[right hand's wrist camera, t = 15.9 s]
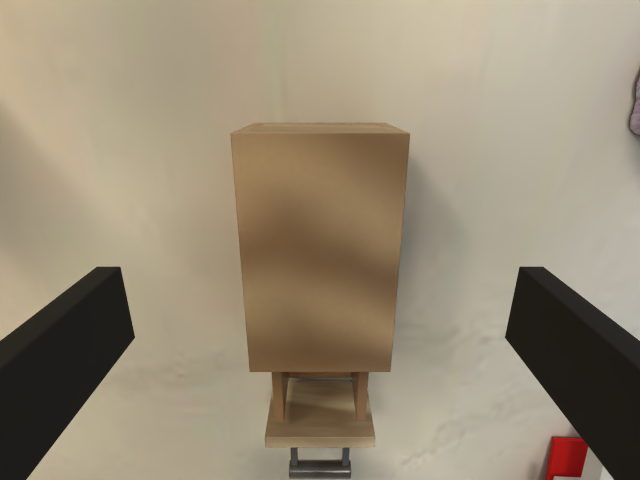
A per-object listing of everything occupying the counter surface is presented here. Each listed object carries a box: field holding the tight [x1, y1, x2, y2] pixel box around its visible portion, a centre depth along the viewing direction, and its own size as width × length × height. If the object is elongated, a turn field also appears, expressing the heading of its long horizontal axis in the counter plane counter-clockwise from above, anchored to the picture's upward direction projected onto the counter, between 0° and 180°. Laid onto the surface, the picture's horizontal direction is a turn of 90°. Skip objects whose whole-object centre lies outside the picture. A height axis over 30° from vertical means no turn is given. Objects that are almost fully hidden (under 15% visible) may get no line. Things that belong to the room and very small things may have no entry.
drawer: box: [265, 372, 375, 479], centre depth 34 cm, size 22×9×7 cm, turn 0°
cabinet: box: [231, 123, 410, 372], centre depth 30 cm, size 17×11×9 cm, turn 0°
